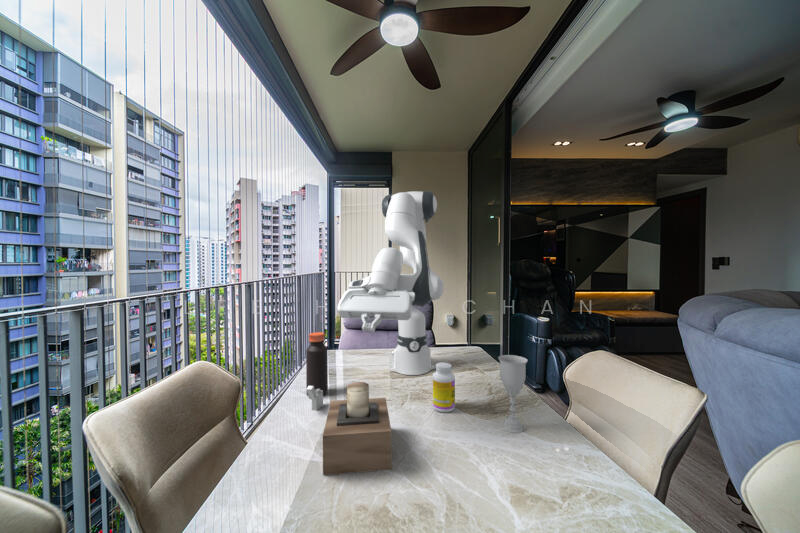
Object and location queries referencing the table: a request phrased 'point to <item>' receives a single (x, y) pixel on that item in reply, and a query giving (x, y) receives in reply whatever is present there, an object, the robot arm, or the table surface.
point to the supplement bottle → (443, 388)
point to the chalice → (512, 386)
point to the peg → (357, 400)
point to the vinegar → (317, 363)
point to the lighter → (315, 397)
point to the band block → (357, 439)
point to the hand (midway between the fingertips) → (367, 330)
